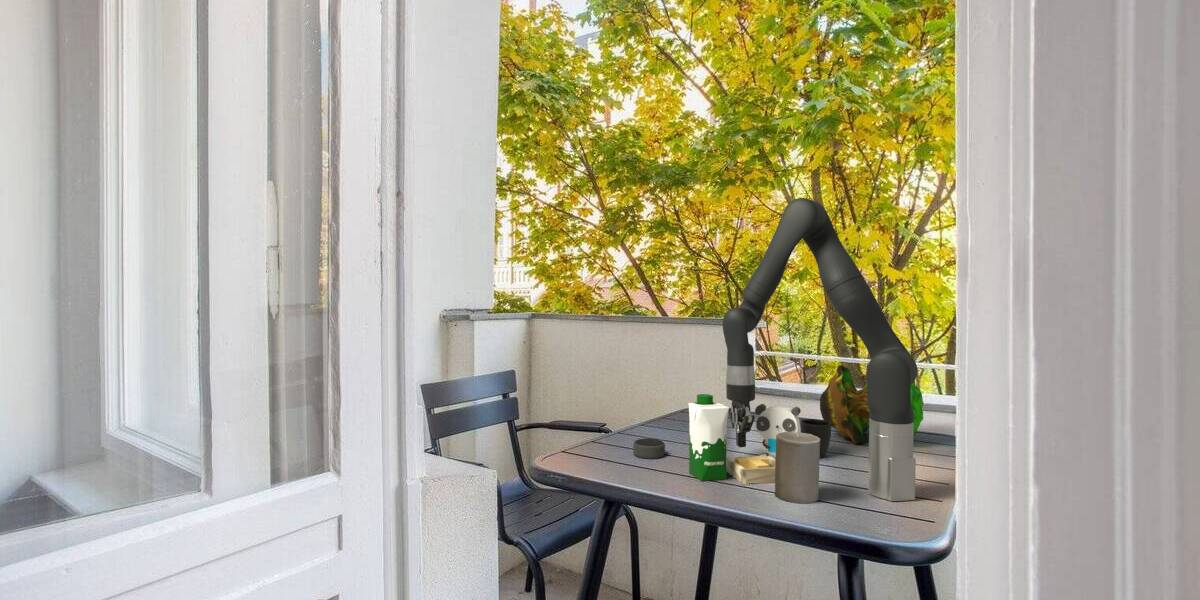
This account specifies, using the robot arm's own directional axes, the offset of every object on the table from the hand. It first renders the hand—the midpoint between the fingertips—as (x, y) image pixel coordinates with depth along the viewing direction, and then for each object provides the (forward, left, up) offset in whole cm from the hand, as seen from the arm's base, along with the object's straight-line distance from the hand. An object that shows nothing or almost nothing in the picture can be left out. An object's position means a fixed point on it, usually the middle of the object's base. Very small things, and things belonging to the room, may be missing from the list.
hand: (741, 446), depth 163 cm
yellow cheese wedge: (-11, 0, -5) cm, 12 cm away
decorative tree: (+19, -51, -5) cm, 55 cm away
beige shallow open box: (-11, 0, -5) cm, 12 cm away
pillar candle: (-26, -3, -5) cm, 26 cm away
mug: (+7, -25, -5) cm, 26 cm away
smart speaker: (+12, +22, -5) cm, 26 cm away
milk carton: (-8, +12, -5) cm, 16 cm away
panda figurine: (+2, -12, -5) cm, 13 cm away
